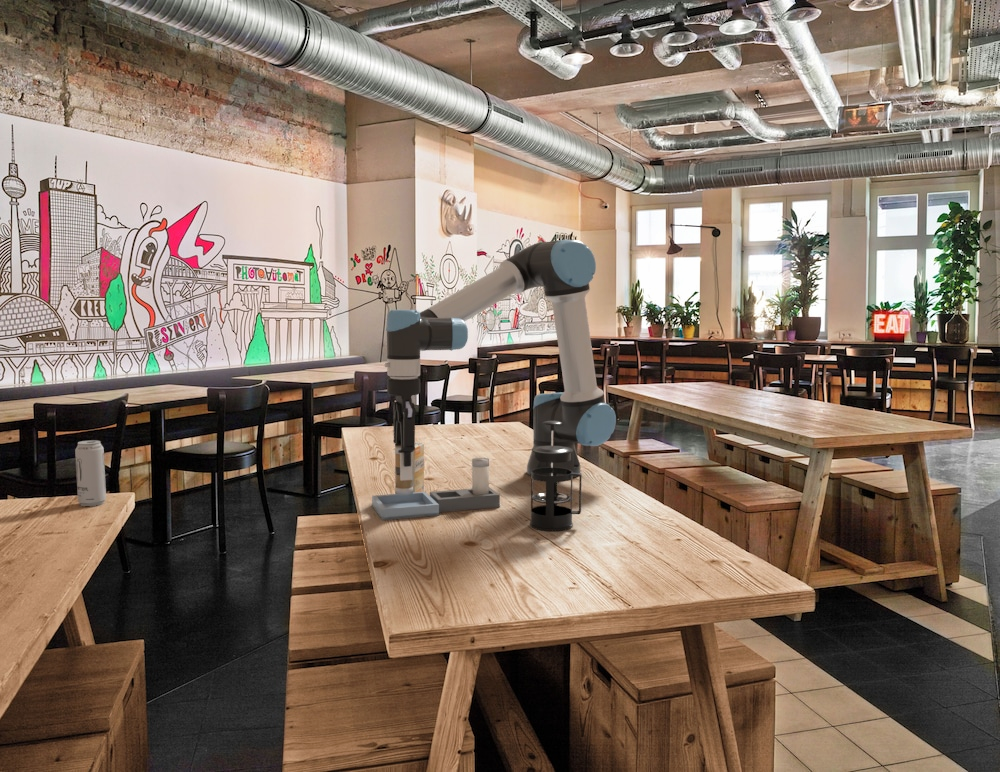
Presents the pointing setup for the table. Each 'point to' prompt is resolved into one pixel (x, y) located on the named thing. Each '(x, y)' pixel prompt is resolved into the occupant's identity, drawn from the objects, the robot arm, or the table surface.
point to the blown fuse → (400, 486)
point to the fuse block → (465, 500)
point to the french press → (552, 488)
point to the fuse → (480, 476)
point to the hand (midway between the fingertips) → (404, 477)
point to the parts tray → (405, 506)
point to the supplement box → (418, 468)
